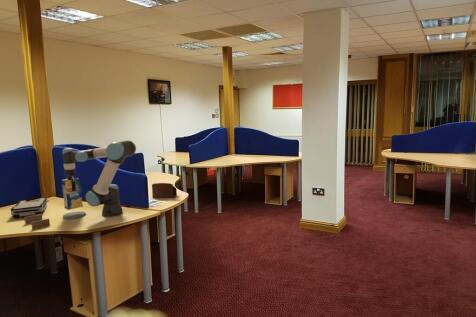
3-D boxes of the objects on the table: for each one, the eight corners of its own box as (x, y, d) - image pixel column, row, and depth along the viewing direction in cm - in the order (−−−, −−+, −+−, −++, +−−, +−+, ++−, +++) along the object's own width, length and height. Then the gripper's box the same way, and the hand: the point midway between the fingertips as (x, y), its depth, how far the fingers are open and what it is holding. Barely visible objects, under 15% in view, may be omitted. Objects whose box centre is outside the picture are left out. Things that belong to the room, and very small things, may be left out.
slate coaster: (89, 215, 270) (89, 213, 270) (67, 220, 259) (67, 219, 259) (81, 211, 281) (80, 210, 281) (59, 216, 270) (59, 214, 270)
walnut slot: (50, 225, 249) (49, 218, 248) (32, 229, 241) (31, 222, 240) (41, 220, 262) (41, 213, 261) (25, 224, 254) (24, 217, 253)
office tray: (47, 205, 304) (46, 196, 303) (42, 215, 274) (41, 205, 273) (20, 209, 296) (19, 199, 295) (11, 219, 267) (10, 209, 265)
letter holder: (173, 198, 314) (172, 183, 312) (152, 198, 317) (151, 183, 315) (177, 195, 324) (176, 180, 322) (156, 195, 327) (155, 180, 325)
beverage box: (64, 208, 268) (61, 180, 265) (79, 205, 275) (76, 177, 272) (67, 209, 263) (64, 181, 260) (82, 206, 270) (79, 178, 267)
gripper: (61, 168, 268) (64, 198, 271) (68, 170, 257) (71, 201, 260) (71, 167, 273) (74, 196, 276) (78, 169, 262) (81, 199, 266)
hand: (72, 199), depth 268 cm, fingers closed on beverage box, 2 cm apart
